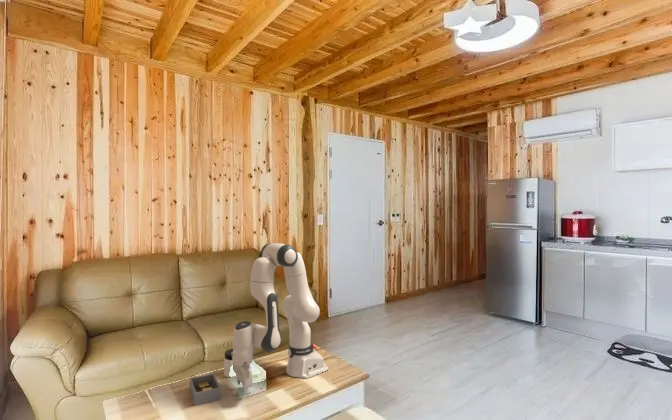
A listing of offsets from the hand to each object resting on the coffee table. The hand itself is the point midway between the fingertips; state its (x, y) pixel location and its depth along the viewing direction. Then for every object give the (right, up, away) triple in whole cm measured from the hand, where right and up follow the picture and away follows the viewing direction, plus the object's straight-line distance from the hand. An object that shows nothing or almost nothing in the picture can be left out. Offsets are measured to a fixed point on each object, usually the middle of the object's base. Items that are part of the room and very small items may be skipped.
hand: (242, 388), depth 162 cm
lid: (-3, -4, +5) cm, 7 cm away
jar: (-10, -3, +19) cm, 22 cm away
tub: (-17, -3, -1) cm, 17 cm away
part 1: (-19, -2, +2) cm, 19 cm away
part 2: (-15, -2, -3) cm, 16 cm away
